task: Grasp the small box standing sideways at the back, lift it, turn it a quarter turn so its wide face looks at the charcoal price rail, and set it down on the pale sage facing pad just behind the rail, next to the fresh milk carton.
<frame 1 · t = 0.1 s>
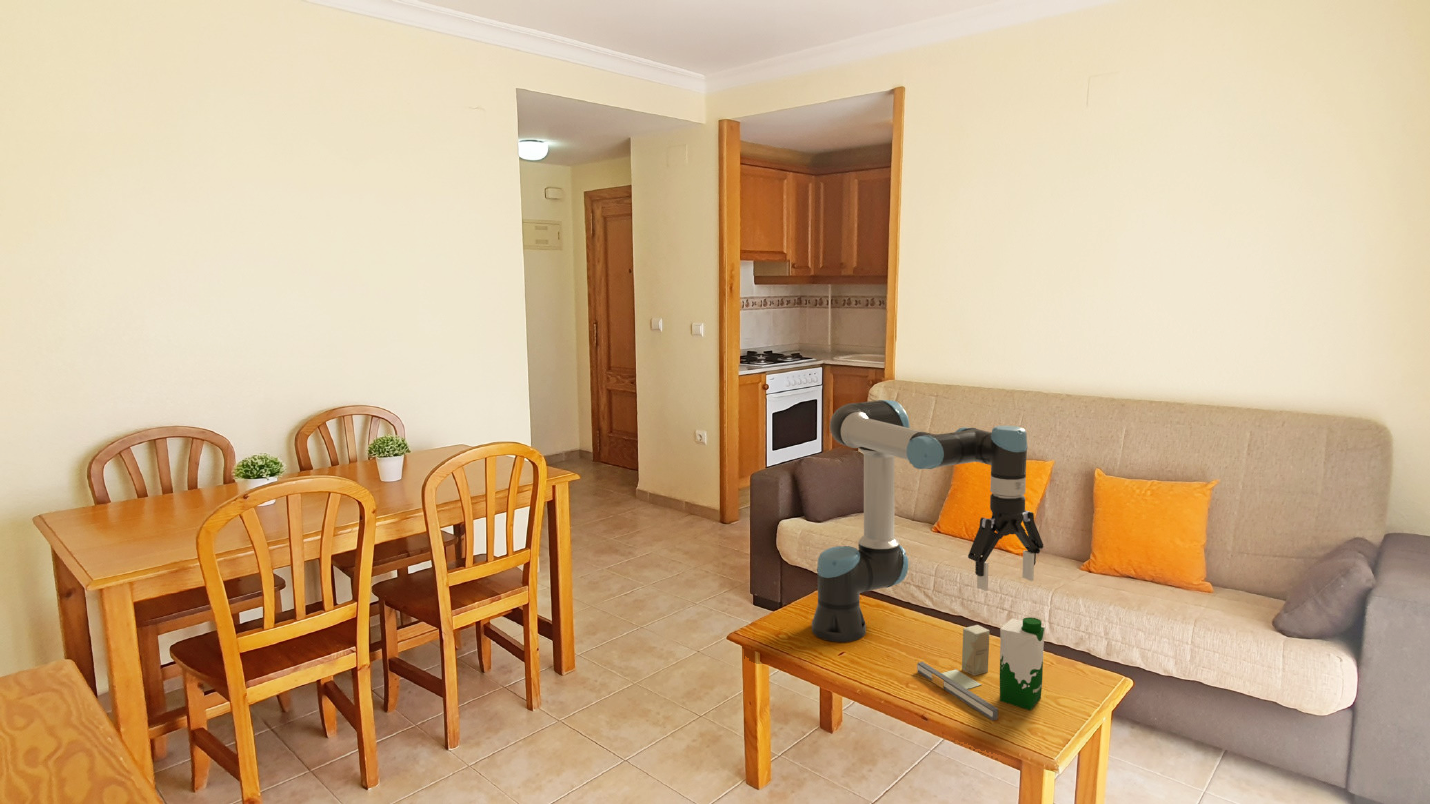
hand: (1005, 583, 189), 28 cm above the table, fingers open, 13 cm apart
fresh milk carton: (1020, 700, 191), on the table
facing pad: (957, 680, 201), on the table
price rail: (955, 694, 194), on the table
box: (975, 671, 206), on the table
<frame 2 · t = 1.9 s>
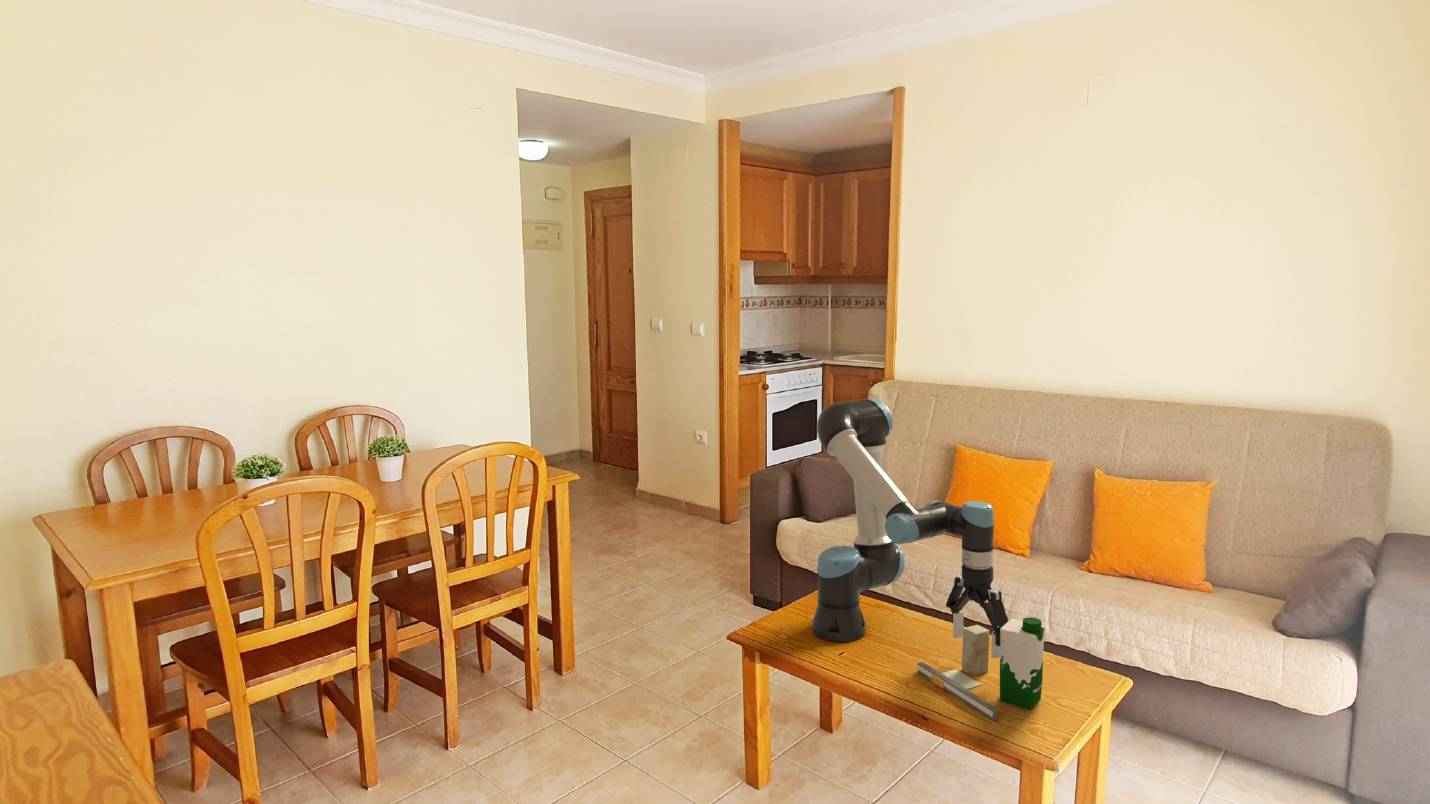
hand: (976, 646, 205), 6 cm above the table, fingers open, 13 cm apart
nothing on the table moved.
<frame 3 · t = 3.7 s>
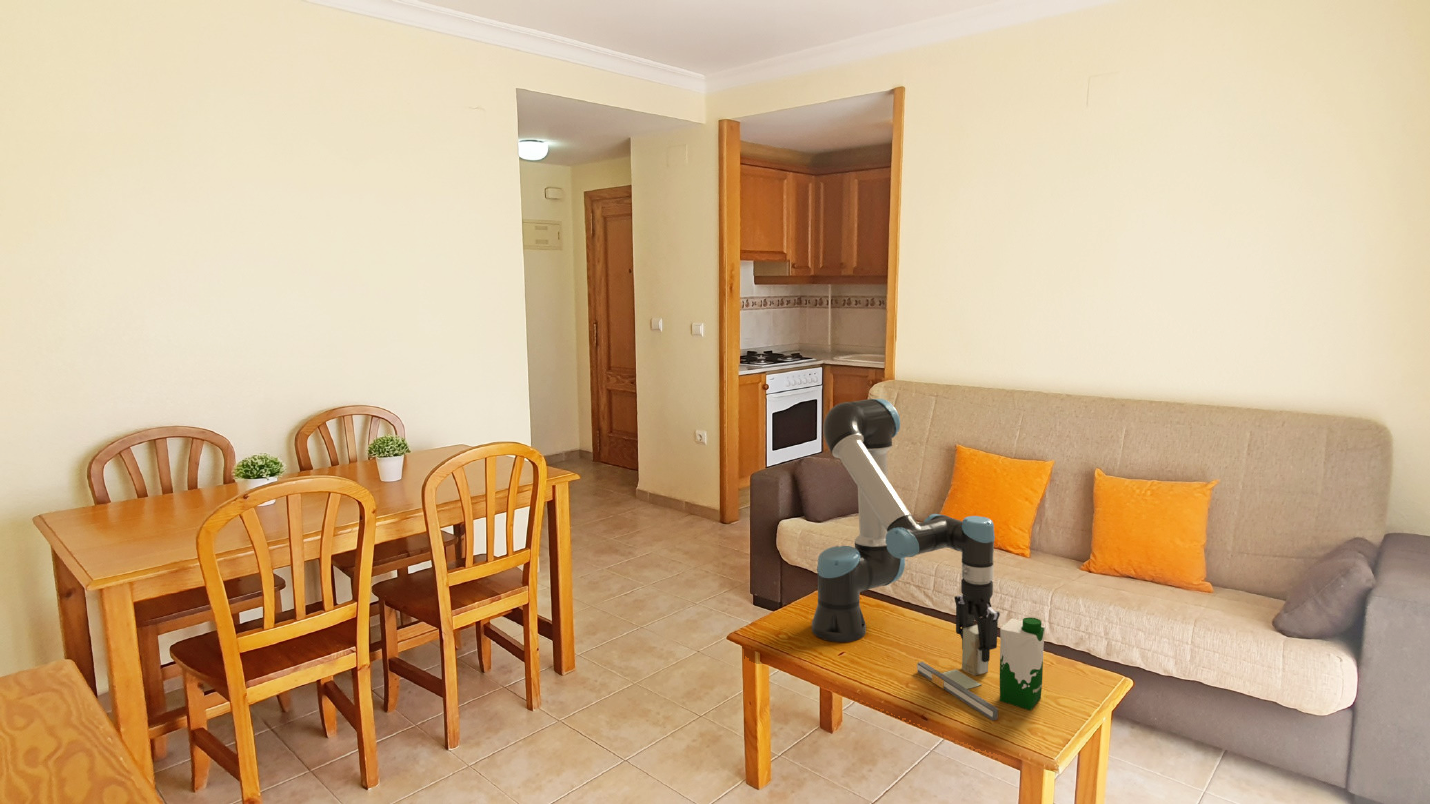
hand: (975, 667, 206), 1 cm above the table, fingers closed on box, 4 cm apart
box: (975, 671, 206), on the table, touching gripper
everything else where it was.
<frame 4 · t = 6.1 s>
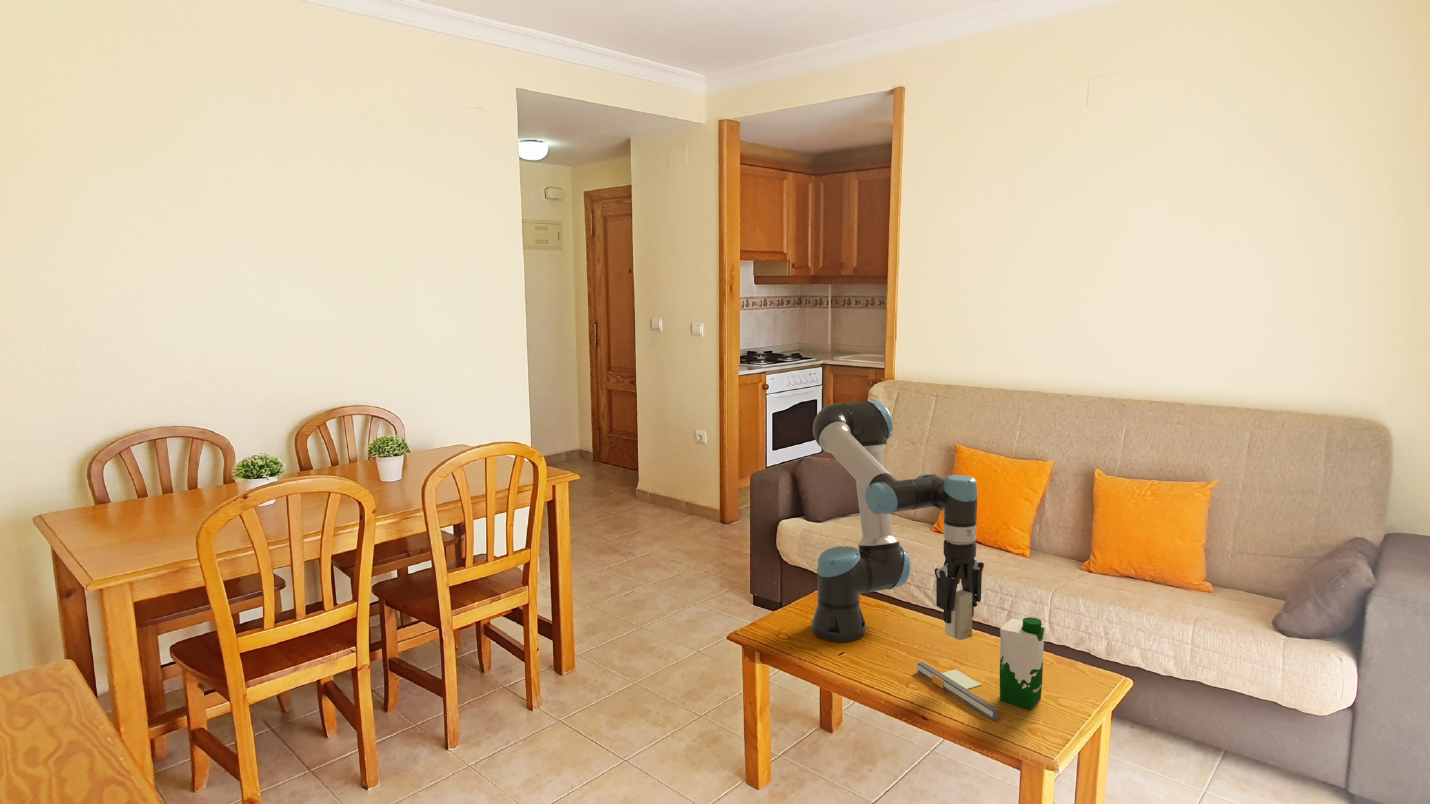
hand: (958, 632, 199), 13 cm above the table, fingers closed on box, 4 cm apart
box: (958, 636, 199), point 12 cm above the table, touching gripper
everything else where it was.
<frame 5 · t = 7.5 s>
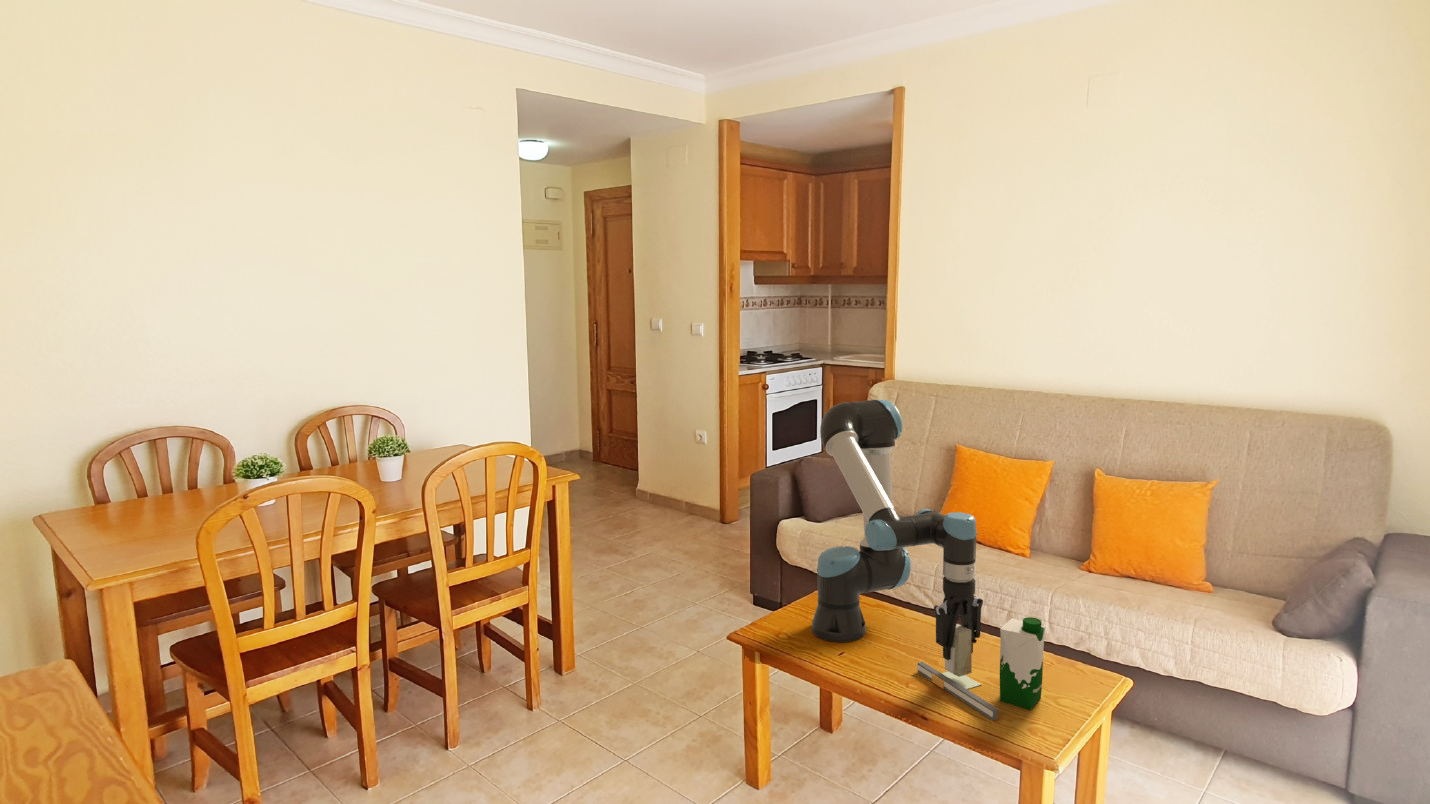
hand: (957, 668, 200), 3 cm above the table, fingers closed on box, 4 cm apart
box: (957, 672, 201), point 2 cm above the table, touching gripper
everything else where it was.
when the fingers open (2 cm above the table, at t = 8.5 s): box stays where it is, resting on facing pad.
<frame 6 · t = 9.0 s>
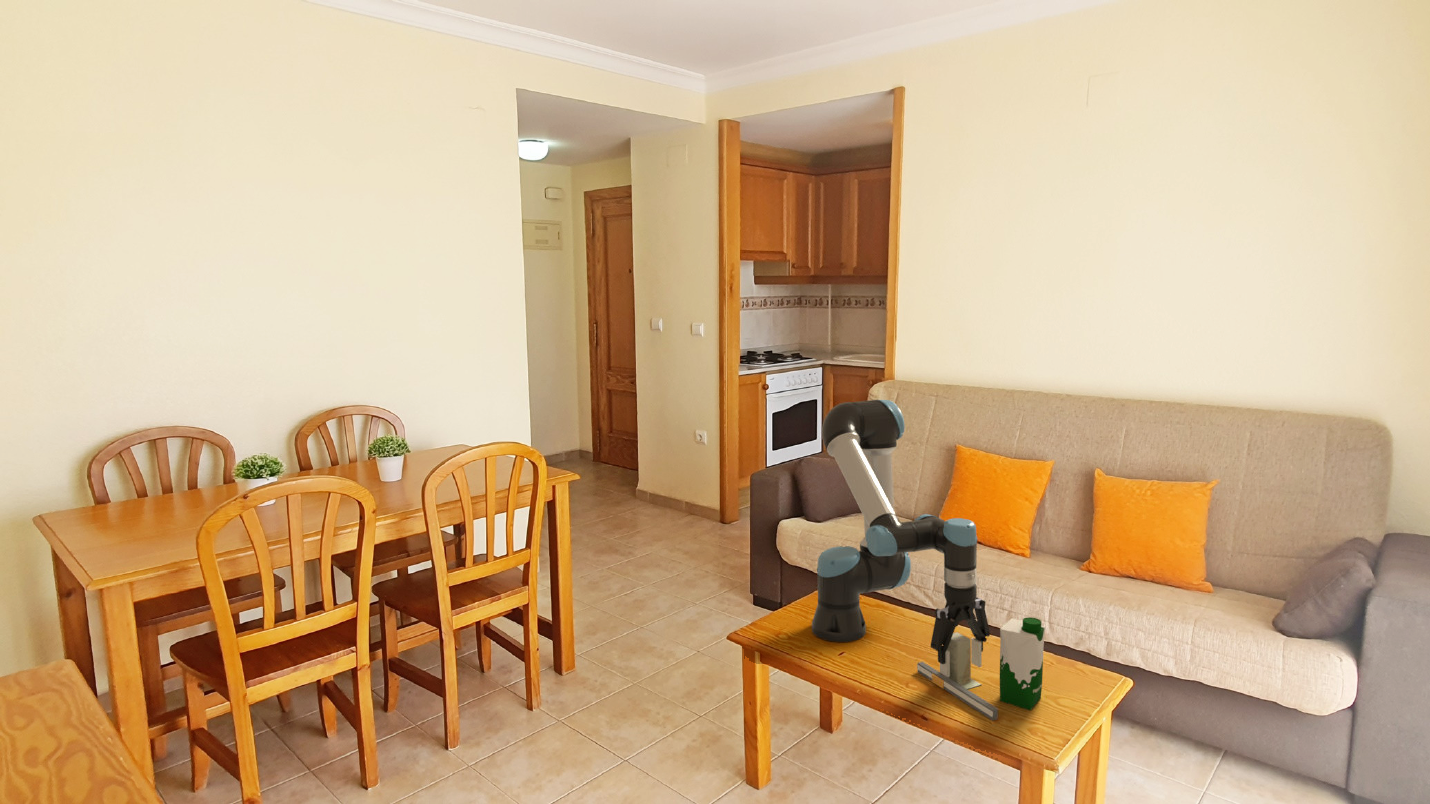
hand: (960, 669, 201), 3 cm above the table, fingers open, 9 cm apart
box: (956, 680, 201), resting on facing pad
everything else where it was.
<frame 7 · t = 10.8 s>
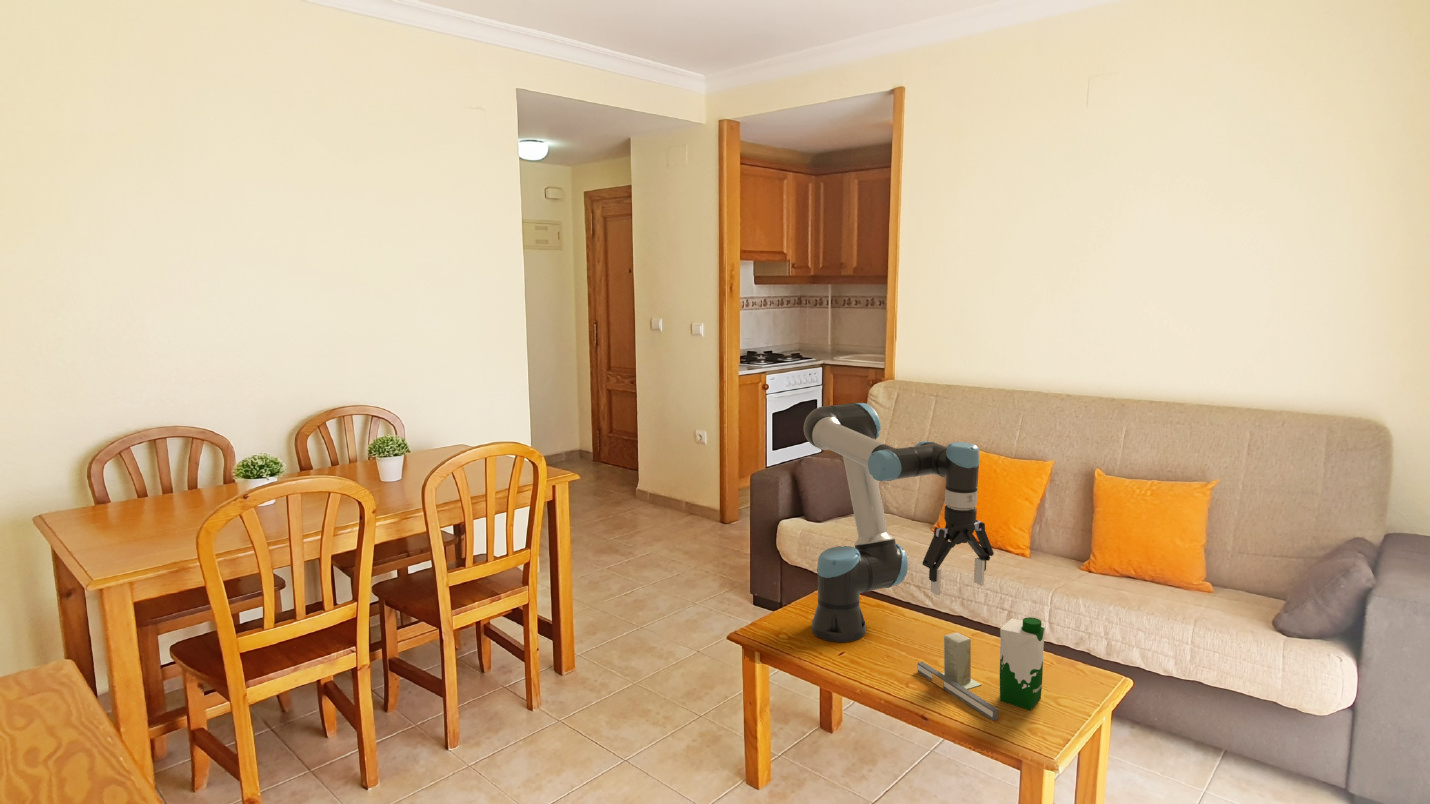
hand: (957, 588, 203), 22 cm above the table, fingers open, 13 cm apart
nothing on the table moved.
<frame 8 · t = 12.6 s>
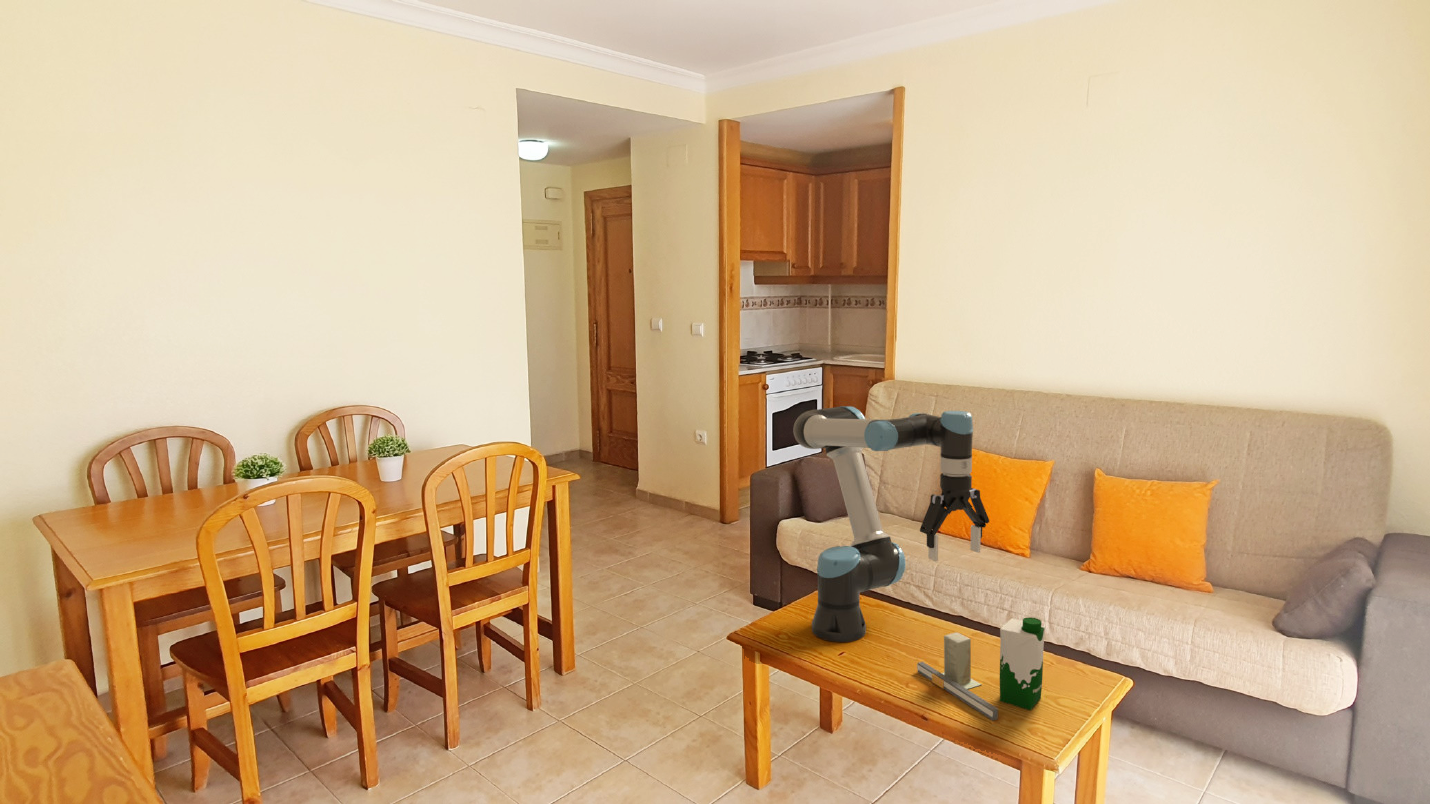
hand: (954, 555, 206), 29 cm above the table, fingers open, 13 cm apart
nothing on the table moved.
at the end: box inside the target area (0.1 cm from its centre), resting on facing pad; box tilted 0°; box moved 7.8 cm from its start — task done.
